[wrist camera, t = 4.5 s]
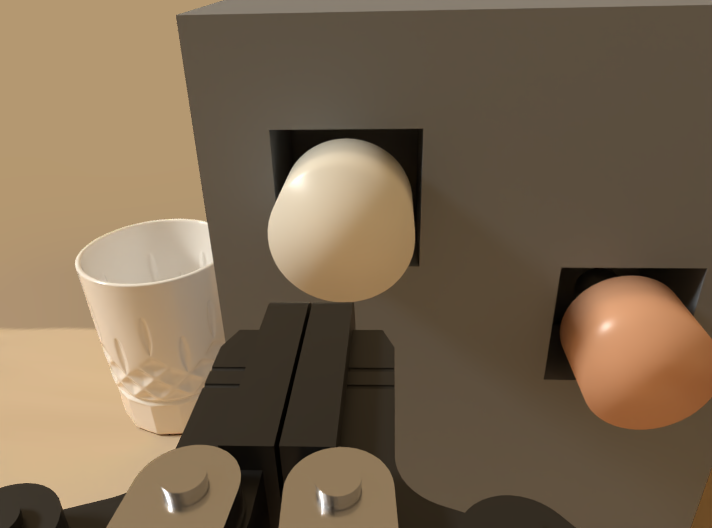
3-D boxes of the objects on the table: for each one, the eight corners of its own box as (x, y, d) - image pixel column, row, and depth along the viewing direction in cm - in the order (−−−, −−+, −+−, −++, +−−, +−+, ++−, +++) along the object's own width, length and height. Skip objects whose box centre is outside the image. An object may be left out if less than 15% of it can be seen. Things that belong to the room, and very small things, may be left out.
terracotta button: (704, 431, 20) (740, 323, 18) (572, 428, 21) (593, 321, 19) (640, 331, 26) (662, 239, 24) (536, 330, 26) (549, 238, 24)
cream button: (413, 303, 19) (417, 168, 17) (274, 301, 19) (260, 168, 17) (409, 224, 24) (411, 114, 22) (300, 224, 24) (292, 116, 22)
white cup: (257, 428, 34) (236, 272, 29) (109, 457, 32) (62, 296, 27) (245, 348, 40) (226, 211, 36) (122, 368, 39) (86, 227, 34)
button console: (689, 531, 27) (875, 1, 17) (251, 518, 28) (175, 15, 18) (634, 423, 33) (745, -13, 23) (277, 415, 34) (231, -3, 24)
